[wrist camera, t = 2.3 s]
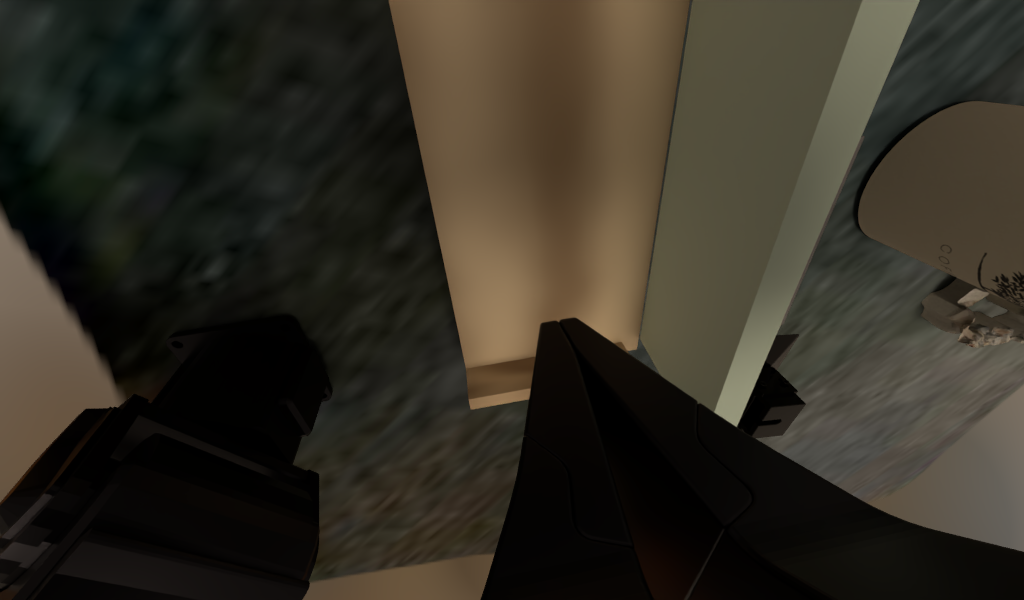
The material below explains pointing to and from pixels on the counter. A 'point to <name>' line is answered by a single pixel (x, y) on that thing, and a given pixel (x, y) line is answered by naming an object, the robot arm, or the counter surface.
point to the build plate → (772, 396)
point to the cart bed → (541, 164)
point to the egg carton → (973, 315)
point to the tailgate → (756, 176)
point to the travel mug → (956, 196)
